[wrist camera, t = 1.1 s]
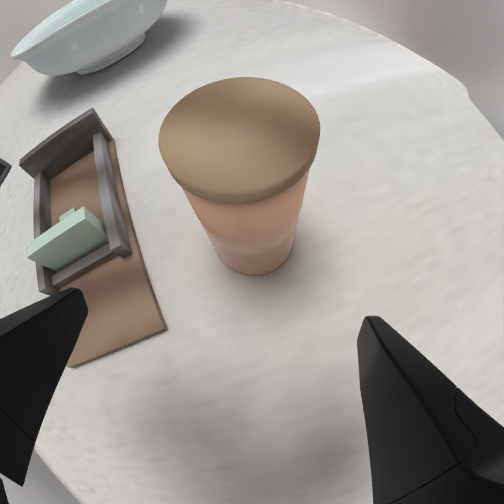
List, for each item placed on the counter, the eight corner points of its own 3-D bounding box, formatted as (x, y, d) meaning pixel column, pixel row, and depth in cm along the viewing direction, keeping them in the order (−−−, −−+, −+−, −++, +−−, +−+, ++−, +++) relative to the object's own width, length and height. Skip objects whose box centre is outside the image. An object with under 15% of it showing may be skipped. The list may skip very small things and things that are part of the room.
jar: (283, 287, 21) (302, 210, 9) (201, 264, 22) (131, 173, 10) (303, 211, 23) (329, 90, 11) (228, 193, 24) (197, 73, 12)
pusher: (113, 239, 22) (85, 218, 18) (57, 272, 22) (26, 257, 17) (105, 203, 24) (80, 179, 19) (53, 236, 23) (25, 218, 19)
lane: (167, 328, 21) (134, 323, 15) (72, 367, 20) (30, 367, 14) (113, 139, 28) (92, 107, 22) (45, 183, 27) (19, 159, 21)
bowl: (22, 105, 36) (-9, 65, 22) (115, 23, 45) (99, -17, 31) (102, 114, 30) (56, 36, 16) (219, 15, 38) (209, -43, 25)
